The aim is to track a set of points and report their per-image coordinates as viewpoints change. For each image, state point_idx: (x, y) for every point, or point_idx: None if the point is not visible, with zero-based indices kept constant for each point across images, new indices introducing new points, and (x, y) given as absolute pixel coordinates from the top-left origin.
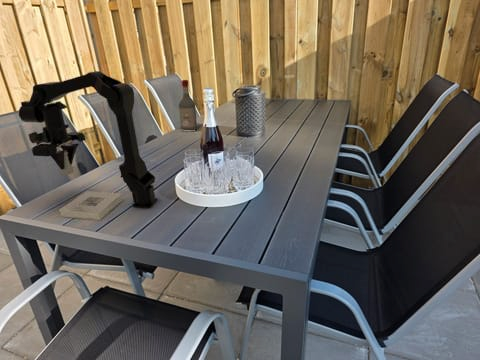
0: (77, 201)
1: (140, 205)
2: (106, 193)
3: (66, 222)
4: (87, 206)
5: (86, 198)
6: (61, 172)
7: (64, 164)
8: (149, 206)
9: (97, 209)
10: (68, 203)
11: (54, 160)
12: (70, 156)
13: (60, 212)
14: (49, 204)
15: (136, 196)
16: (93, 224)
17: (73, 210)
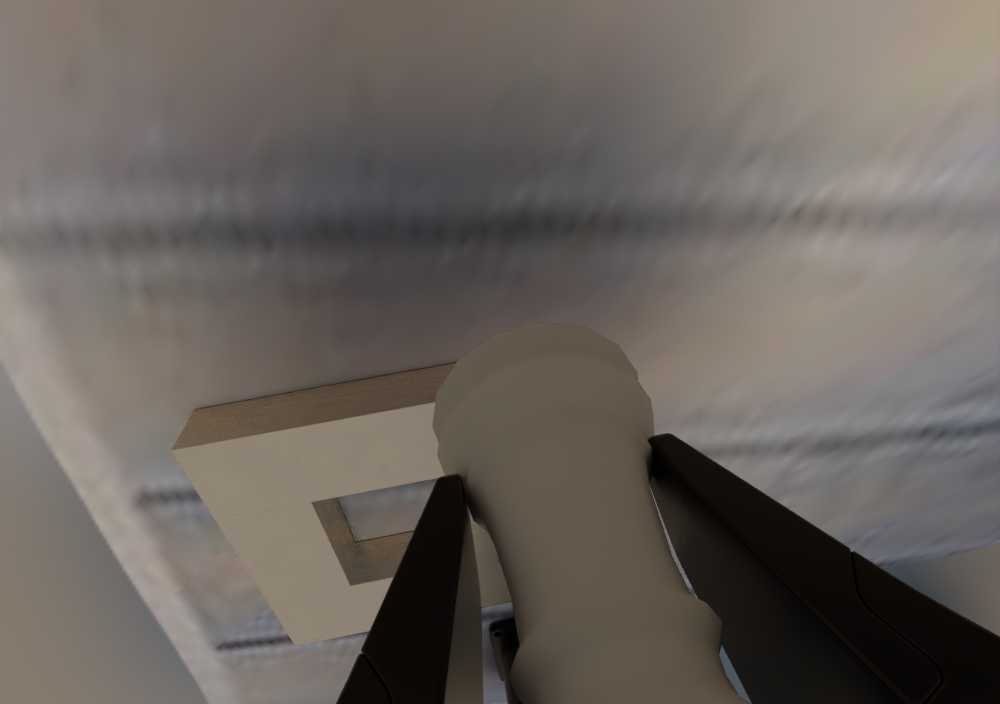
0: (348, 460)
1: (501, 654)
2: None
3: (171, 491)
4: (325, 558)
5: (417, 478)
6: (449, 405)
7: (477, 616)
8: (504, 680)
9: (326, 618)
10: (287, 429)
11: (347, 682)
12: (745, 659)
13: (182, 438)
14: (273, 126)
15: (512, 696)
16: (254, 604)
17: (232, 532)
